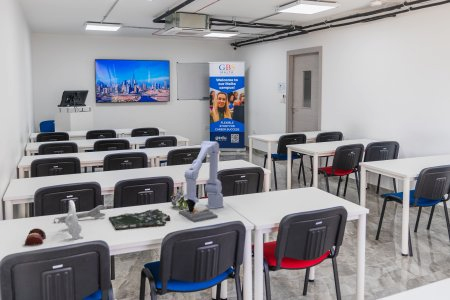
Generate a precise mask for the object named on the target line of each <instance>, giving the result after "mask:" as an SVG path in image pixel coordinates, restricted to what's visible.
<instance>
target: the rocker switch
mask: <svg viewBox="0 0 450 300" xmlns="http://www.w3.org/2000/svg"><path fill="white" fill-rule="evenodd" d="M207 209H208V207H206V206H205V205H203V204H200V205H197V206H195V207H194V210H193V212H189V211H188V212H189V213H191V214H192V215H193V214H198V213H200V212H203V211H205V210H207Z"/></svg>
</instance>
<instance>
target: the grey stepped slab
mask: <svg viewBox="0 0 450 300" xmlns="http://www.w3.org/2000/svg"><path fill="white" fill-rule="evenodd" d="M188 211H189V209H182V210H178V214H179V215H180V216H182V217H184V218H186V219H187V220H189V221H191V222H193V223H198V222H202V221H208V220H212V219H213V220H214V219H217V218H218V217H219V216H218V214H216V213H213V212H214V211H213V210H211V209H210V208H207V210H205V211H203V212H200V213H198V214H193V215H192V214H191V213H189V212H188Z"/></svg>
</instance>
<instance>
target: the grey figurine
mask: <svg viewBox="0 0 450 300" xmlns="http://www.w3.org/2000/svg"><path fill="white" fill-rule="evenodd" d="M76 210H77V209H76V205H75V201H74V200H71V199H70V200H68V212H67V215H66V216H67V217H66V219H65V222H64V223H65V225H66V227H67V232H68V234H69V235H70V236H71V237H72V239H77V240H82V239H84V236H82V235H80V234H81V232H82V225H81V223H80V222H79V219H78V218H77V216H76V214H77V212H76Z"/></svg>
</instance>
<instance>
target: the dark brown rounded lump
mask: <svg viewBox="0 0 450 300" xmlns="http://www.w3.org/2000/svg"><path fill="white" fill-rule="evenodd" d="M46 238H47V235H46V232H45V231H44V230H43V229H41V228H39V227H38V228H32V229H31V230H29V232H28V235H27V236H26V238H25V240H24V245H25V246H33V245H34V246H35V245H43V243H44V241H43V239H46Z"/></svg>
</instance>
